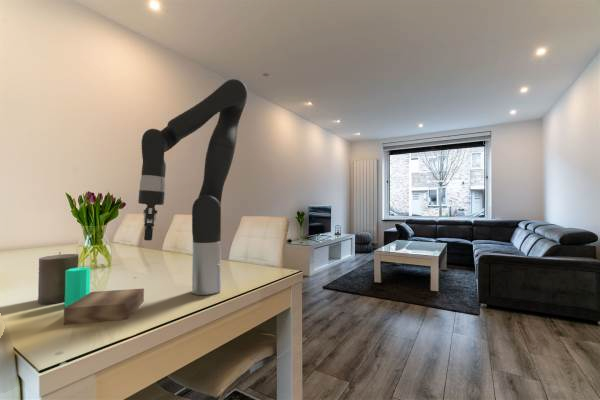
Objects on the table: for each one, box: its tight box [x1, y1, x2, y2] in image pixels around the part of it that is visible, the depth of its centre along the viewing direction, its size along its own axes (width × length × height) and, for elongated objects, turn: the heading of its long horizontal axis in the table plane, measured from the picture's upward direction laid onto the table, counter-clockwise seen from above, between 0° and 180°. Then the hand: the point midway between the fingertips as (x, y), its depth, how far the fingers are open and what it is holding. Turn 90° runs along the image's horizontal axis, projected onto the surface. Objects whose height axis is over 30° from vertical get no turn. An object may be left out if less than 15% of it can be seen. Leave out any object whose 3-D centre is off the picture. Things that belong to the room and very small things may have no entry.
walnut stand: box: [63, 288, 145, 325], centre depth 77 cm, size 14×14×4 cm
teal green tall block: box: [64, 263, 91, 308], centre depth 84 cm, size 6×6×12 cm
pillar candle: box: [37, 252, 80, 305], centre depth 88 cm, size 10×10×15 cm
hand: (148, 239), depth 91 cm, fingers open, 8 cm apart
